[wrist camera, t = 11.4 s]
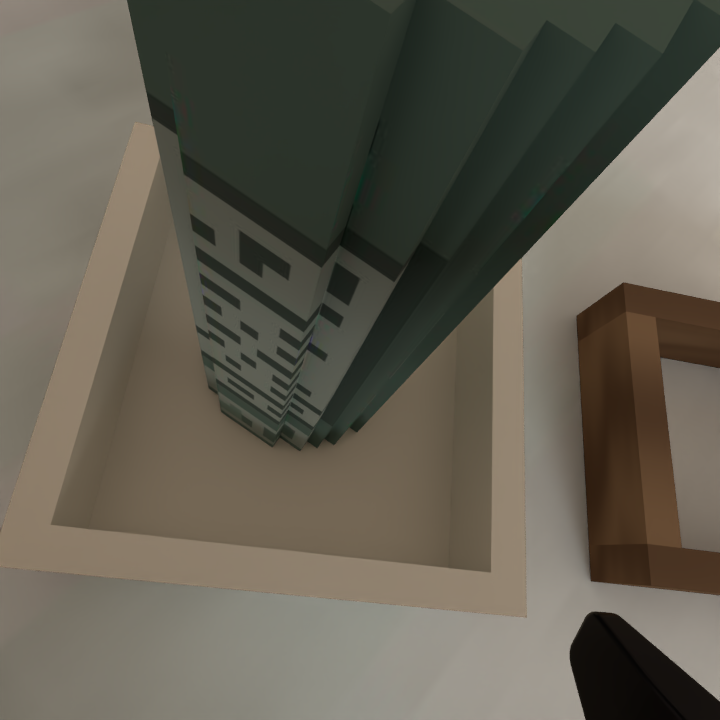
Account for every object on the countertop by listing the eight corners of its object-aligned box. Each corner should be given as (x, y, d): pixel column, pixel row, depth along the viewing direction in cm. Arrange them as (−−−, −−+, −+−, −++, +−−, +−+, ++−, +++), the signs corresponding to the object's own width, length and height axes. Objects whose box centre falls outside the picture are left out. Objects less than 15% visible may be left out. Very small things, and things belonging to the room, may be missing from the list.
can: (415, 343, 19) (831, -166, 6) (323, 483, 17) (659, 192, 3) (279, 251, 20) (365, -462, 6) (170, 377, 17) (-121, -325, 3)
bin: (467, 603, 18) (526, 617, 14) (49, 562, 16) (-12, 566, 12) (475, 265, 22) (521, 207, 19) (155, 200, 20) (135, 122, 17)
